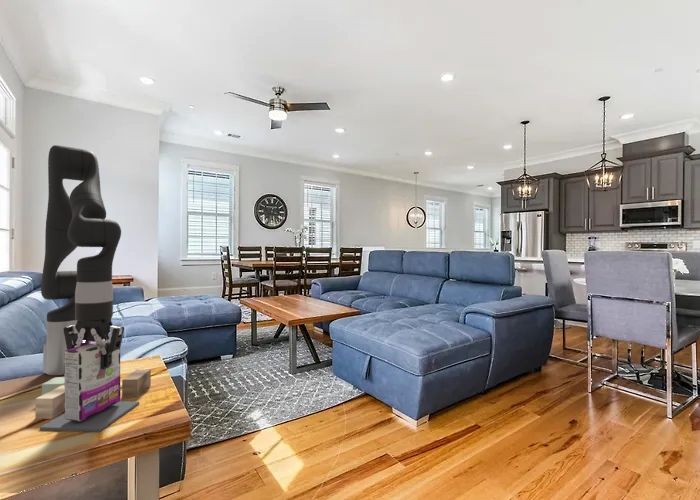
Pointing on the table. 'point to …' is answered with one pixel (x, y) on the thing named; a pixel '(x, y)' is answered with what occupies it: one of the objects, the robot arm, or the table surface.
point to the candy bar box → (89, 381)
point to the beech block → (50, 404)
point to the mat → (92, 419)
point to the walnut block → (136, 383)
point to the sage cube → (52, 384)
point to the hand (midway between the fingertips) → (93, 367)
